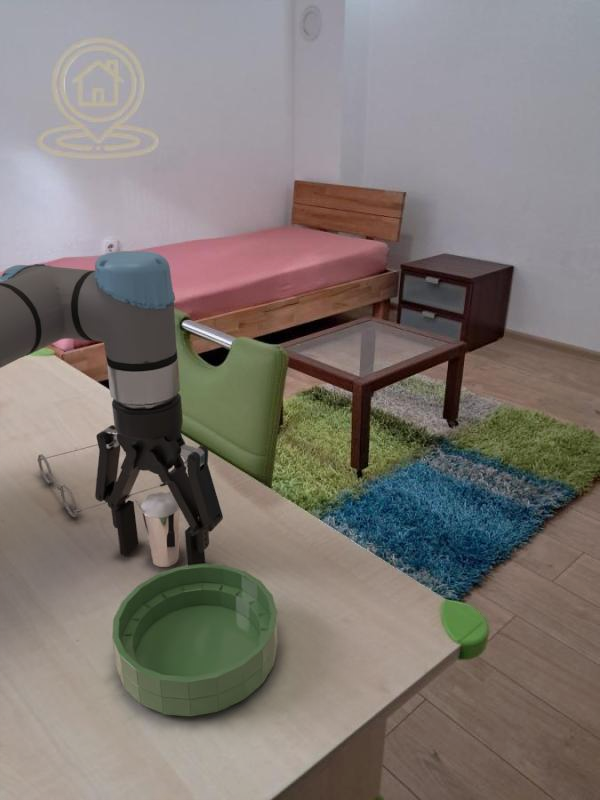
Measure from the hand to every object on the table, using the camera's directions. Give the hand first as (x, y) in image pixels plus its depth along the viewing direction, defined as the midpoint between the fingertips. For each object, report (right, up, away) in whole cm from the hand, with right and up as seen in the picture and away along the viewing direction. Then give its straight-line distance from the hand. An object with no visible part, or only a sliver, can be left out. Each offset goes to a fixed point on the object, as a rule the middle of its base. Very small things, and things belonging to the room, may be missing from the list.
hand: (162, 559), depth 79 cm
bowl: (+7, -6, -13) cm, 16 cm away
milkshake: (0, 0, 0) cm, 0 cm away
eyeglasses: (-11, +8, +18) cm, 23 cm away
